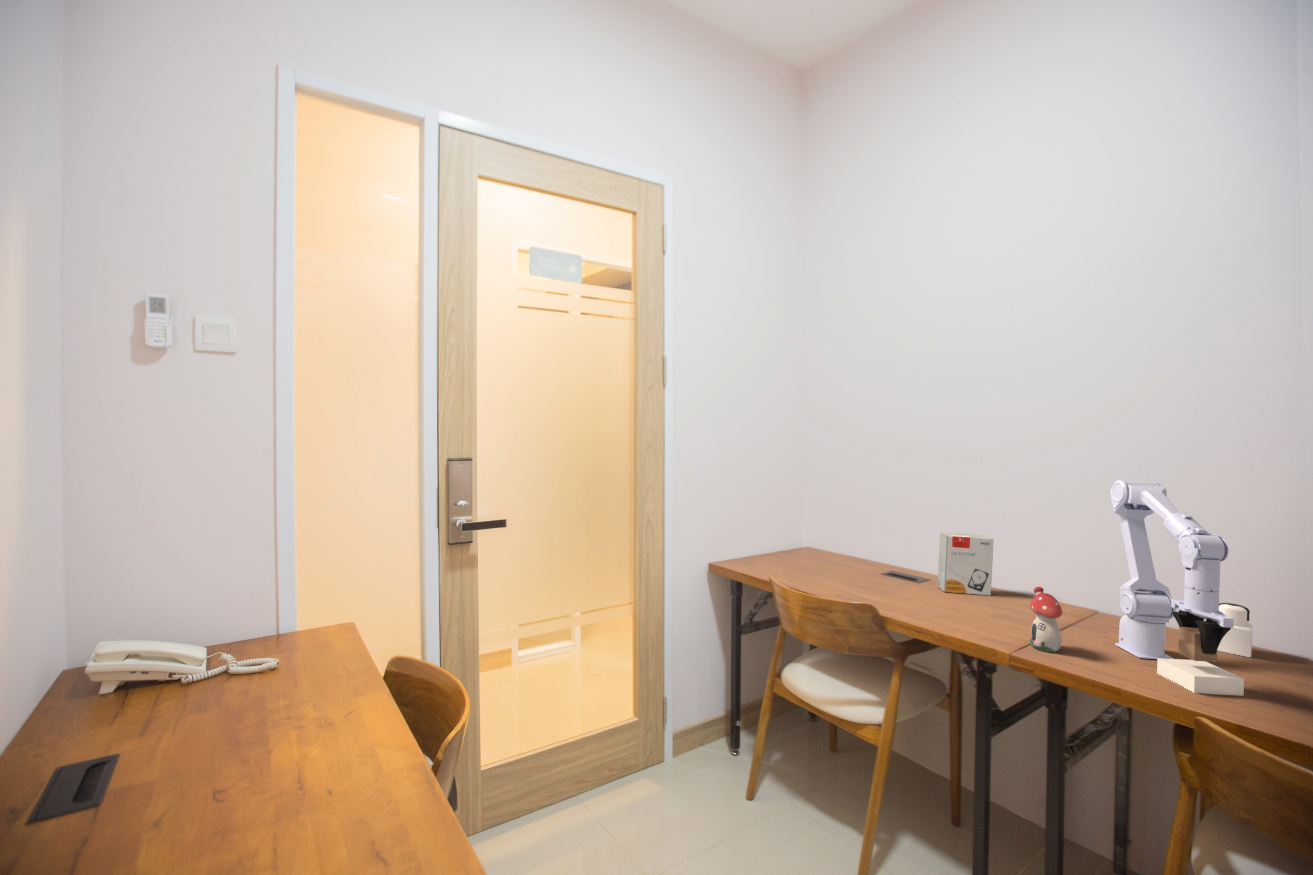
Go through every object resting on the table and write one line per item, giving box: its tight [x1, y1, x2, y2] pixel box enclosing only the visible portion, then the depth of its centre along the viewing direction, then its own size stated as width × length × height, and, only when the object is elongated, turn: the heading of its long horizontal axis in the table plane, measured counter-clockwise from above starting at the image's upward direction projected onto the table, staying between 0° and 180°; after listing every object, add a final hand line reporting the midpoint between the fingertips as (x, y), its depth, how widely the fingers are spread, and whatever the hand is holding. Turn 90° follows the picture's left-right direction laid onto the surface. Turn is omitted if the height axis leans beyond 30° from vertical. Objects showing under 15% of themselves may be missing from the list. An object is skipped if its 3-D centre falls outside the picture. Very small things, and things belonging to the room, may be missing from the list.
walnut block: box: [1178, 626, 1218, 663], centre depth 129 cm, size 4×4×6 cm
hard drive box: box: [937, 531, 995, 597], centre depth 203 cm, size 16×8×20 cm, turn 81°
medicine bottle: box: [1217, 602, 1253, 658], centre depth 151 cm, size 7×7×12 cm
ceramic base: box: [1156, 658, 1245, 697], centre depth 129 cm, size 10×10×4 cm
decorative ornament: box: [1029, 586, 1063, 653], centre depth 150 cm, size 9×6×15 cm
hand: (1199, 649), depth 129 cm, fingers closed on walnut block, 4 cm apart
